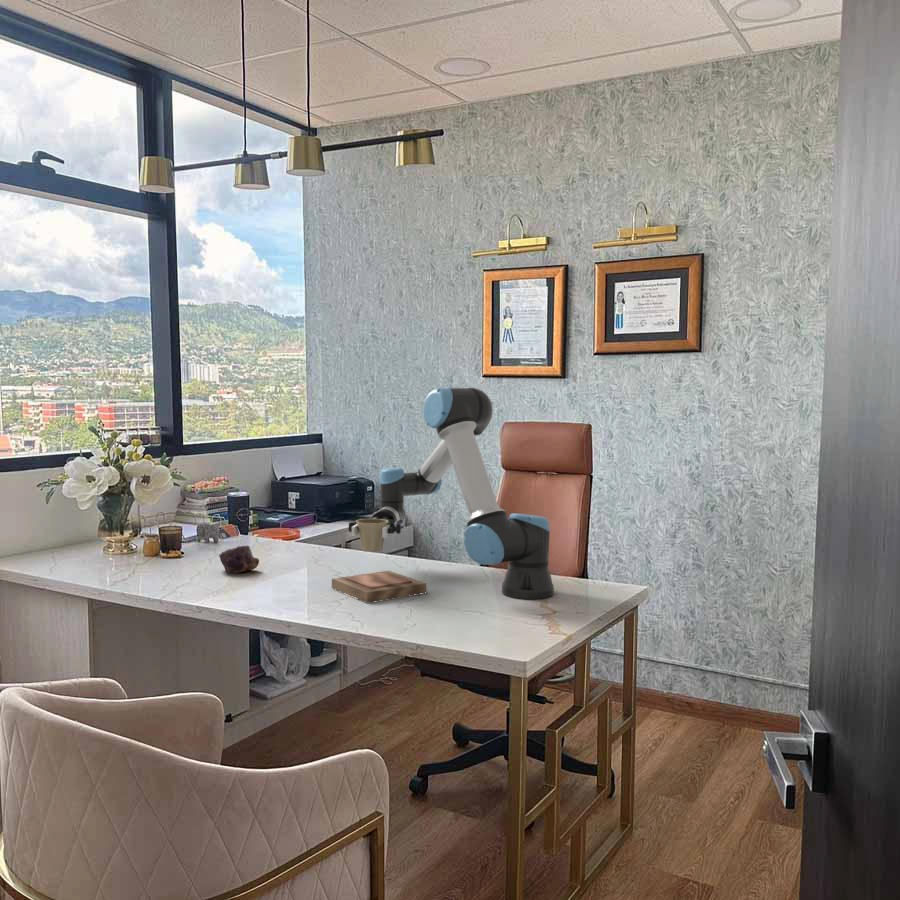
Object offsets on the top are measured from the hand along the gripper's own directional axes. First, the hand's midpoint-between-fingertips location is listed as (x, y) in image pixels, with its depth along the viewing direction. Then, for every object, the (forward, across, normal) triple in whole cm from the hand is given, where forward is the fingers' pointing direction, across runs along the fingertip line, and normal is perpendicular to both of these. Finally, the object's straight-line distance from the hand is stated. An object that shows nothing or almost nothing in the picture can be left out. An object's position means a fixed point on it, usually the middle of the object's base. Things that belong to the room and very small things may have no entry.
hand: (368, 532), depth 241 cm
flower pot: (-5, 0, -6) cm, 8 cm away
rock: (-19, +47, -18) cm, 54 cm away
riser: (-3, -2, -18) cm, 18 cm away
